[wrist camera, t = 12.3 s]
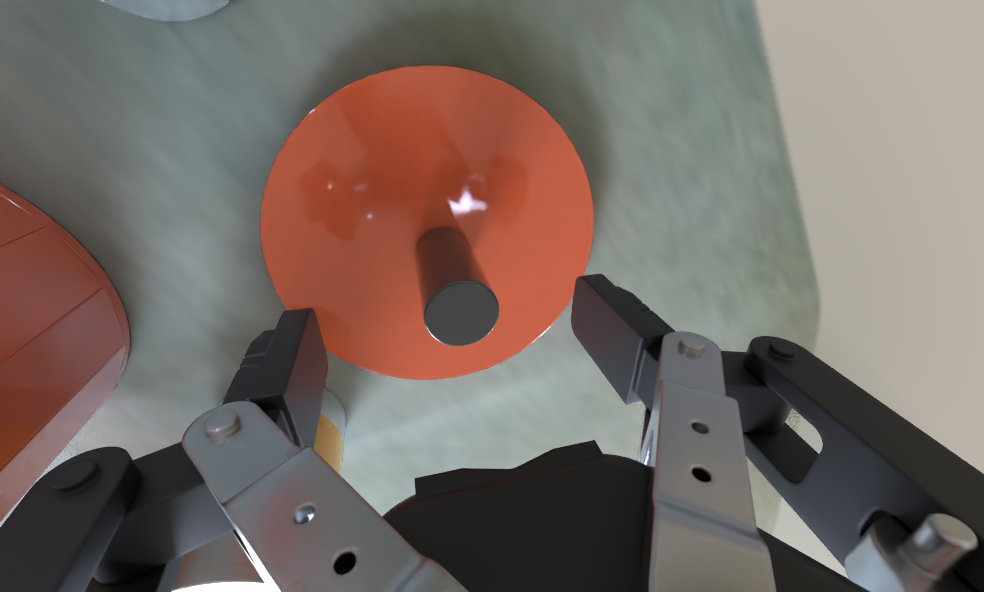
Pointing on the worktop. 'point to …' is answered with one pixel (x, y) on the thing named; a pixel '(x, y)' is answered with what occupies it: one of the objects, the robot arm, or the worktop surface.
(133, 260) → the worktop surface
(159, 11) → the silver metal cup
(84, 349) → the pot
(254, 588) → the can
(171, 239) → the worktop surface
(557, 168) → the lid
